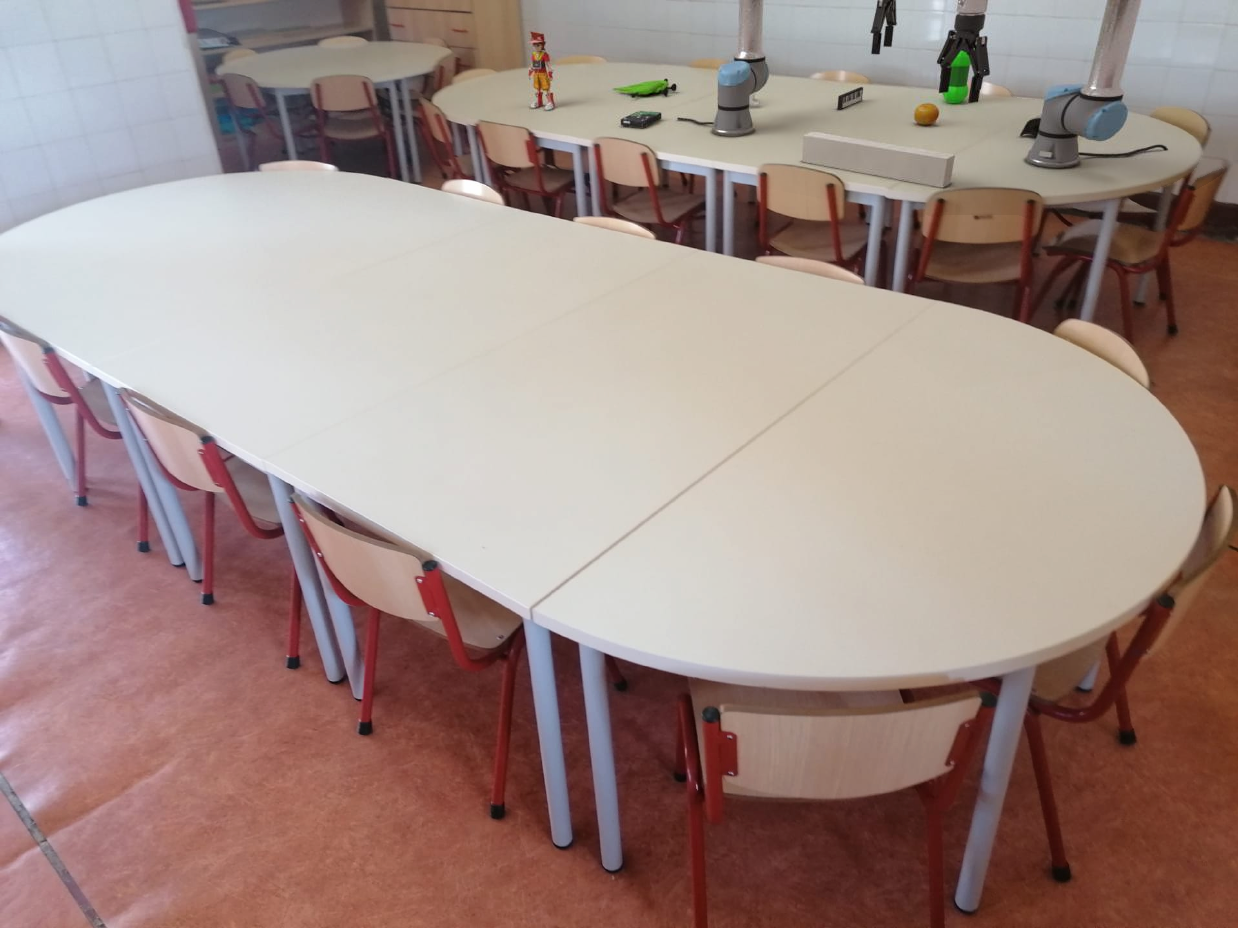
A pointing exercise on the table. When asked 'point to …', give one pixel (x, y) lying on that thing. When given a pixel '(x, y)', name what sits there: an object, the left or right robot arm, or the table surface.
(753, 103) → the anatomical model
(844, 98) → the midi keyboard
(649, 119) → the disk drive
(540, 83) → the toy
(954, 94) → the plastic bottle
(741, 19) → the left robot arm
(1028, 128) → the black curved piece
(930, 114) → the fruit
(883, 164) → the bar
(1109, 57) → the right robot arm
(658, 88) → the toy
